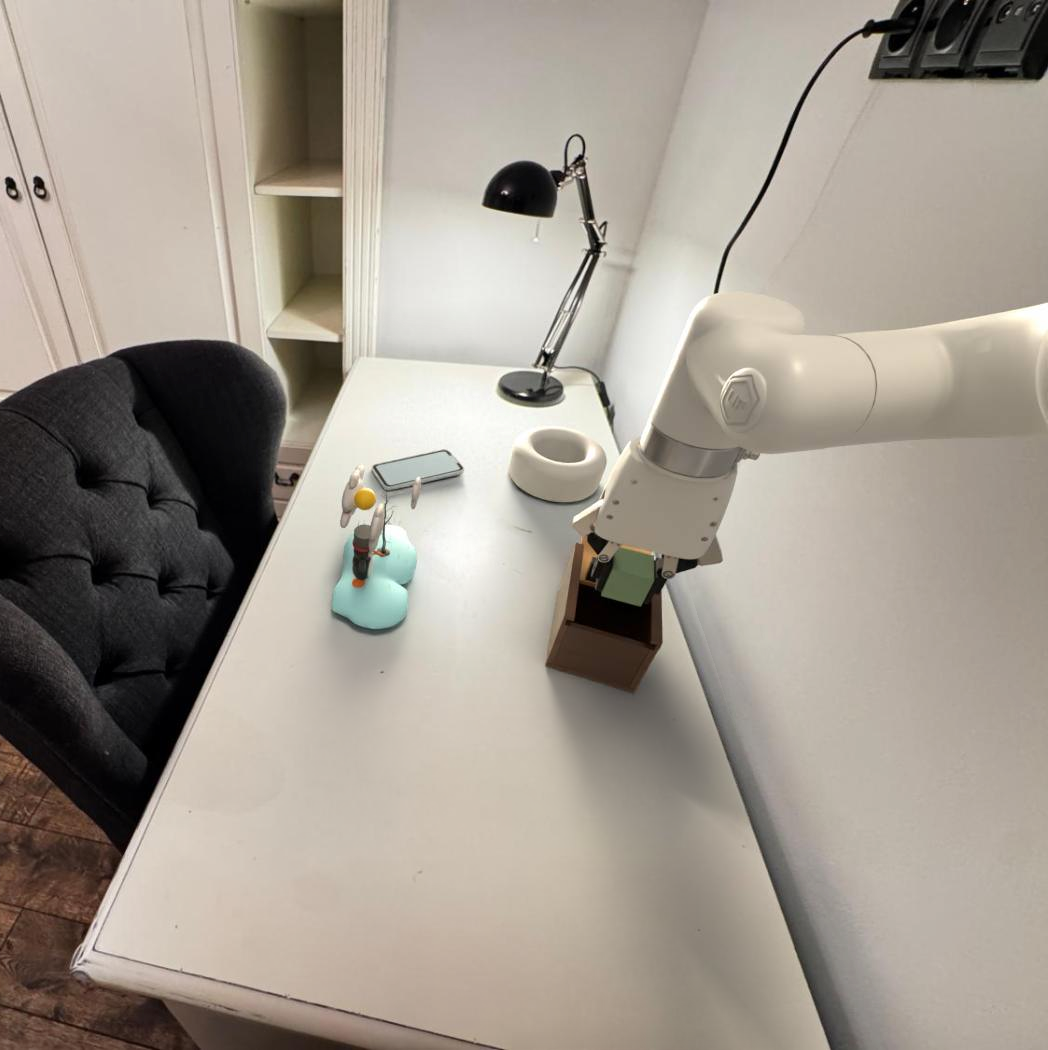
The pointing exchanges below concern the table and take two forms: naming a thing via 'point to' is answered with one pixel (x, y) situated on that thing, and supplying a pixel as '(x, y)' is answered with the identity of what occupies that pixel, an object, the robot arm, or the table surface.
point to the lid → (590, 559)
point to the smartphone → (417, 469)
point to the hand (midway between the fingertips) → (622, 586)
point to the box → (602, 632)
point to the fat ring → (557, 464)
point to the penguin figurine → (374, 561)
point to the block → (630, 577)
